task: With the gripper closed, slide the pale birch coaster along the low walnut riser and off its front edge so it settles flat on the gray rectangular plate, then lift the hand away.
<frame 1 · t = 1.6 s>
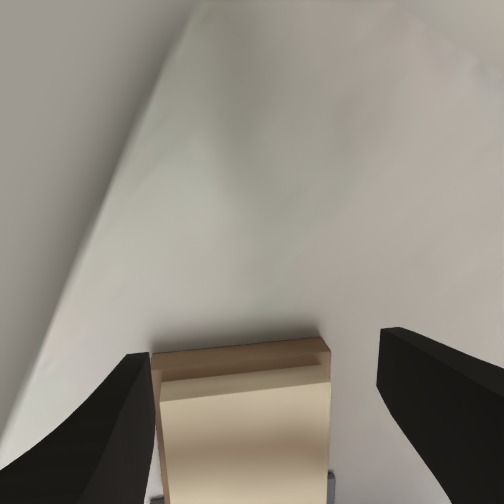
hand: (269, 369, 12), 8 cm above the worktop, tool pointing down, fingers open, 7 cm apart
walnut riser: (242, 416, 22), on the worktop
birch coaster: (245, 438, 21), point 1 cm above the worktop, touching walnut riser
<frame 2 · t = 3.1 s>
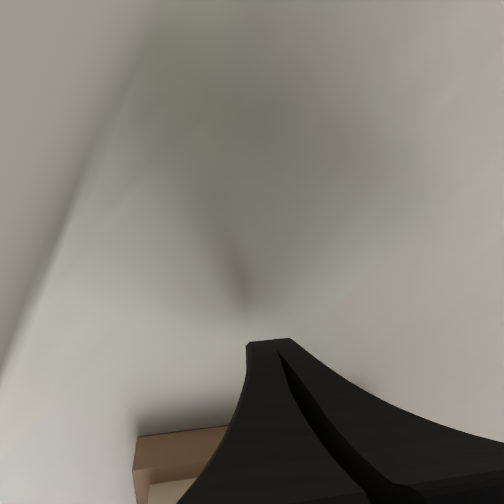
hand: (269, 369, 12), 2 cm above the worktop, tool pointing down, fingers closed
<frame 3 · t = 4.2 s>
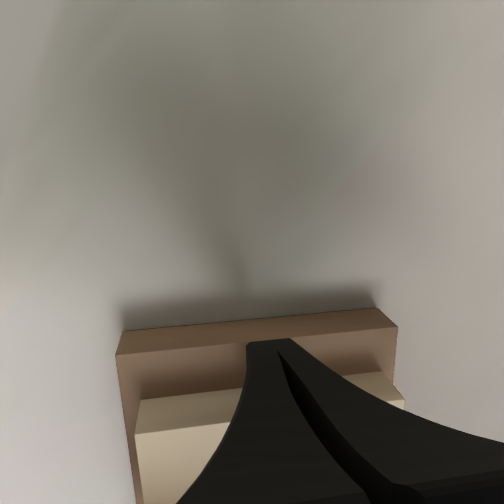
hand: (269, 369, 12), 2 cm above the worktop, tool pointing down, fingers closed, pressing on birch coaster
walnut riser: (258, 425, 15), on the worktop
birch coaster: (268, 481, 14), point 2 cm above the worktop, touching gripper
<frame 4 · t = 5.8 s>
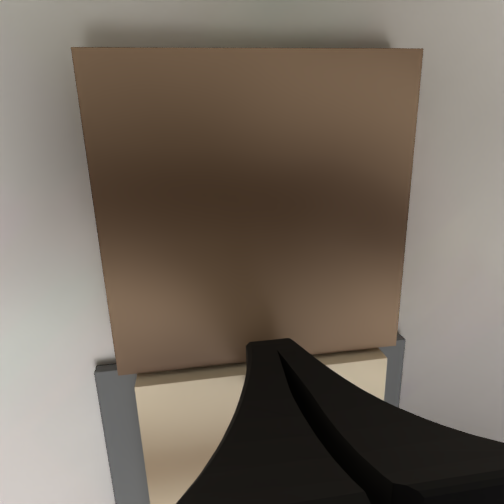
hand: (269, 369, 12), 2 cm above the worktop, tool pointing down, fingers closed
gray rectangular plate: (259, 450, 16), on the worktop
walnut riser: (253, 212, 13), on the worktop
birch coaster: (261, 441, 15), resting on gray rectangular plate
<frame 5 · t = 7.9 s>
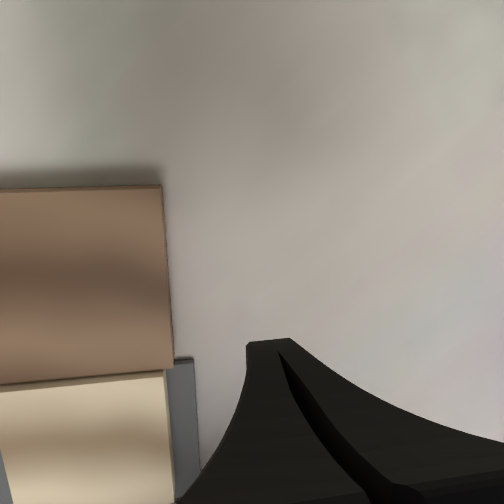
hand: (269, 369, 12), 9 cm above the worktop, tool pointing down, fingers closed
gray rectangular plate: (98, 439, 22), on the worktop
walnut riser: (75, 279, 19), on the worktop
birch coaster: (95, 432, 21), resting on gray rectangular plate
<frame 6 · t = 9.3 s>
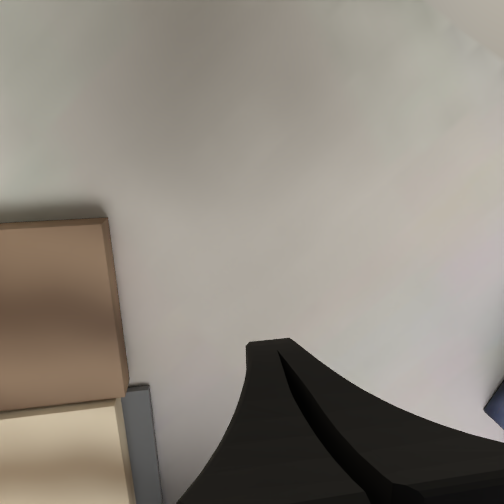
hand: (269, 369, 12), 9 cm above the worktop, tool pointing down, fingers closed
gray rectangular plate: (57, 464, 22), on the worktop
walnut riser: (25, 311, 20), on the worktop
birch coaster: (53, 458, 22), resting on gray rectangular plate
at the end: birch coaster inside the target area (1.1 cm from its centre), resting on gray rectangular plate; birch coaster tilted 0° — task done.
